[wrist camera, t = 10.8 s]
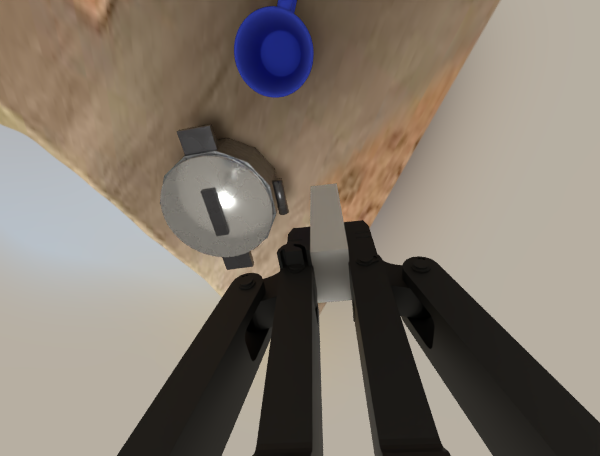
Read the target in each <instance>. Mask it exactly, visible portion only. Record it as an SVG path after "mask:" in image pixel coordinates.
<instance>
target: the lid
mask: <svg viewBox="0 0 600 456" xmlns="http://www.w3.org/2000/svg"><path fill="white" fill-rule="evenodd" d="M160 200H161V208H162V212H163V215H164V218H165V220H166V222H167V224H168V226H169V227H170V229H171V230H172V231H173V233H174V234H175V235H176V236H177V237H178V238H179V239H180V240H181V241H183V242H184V243H185V244H186V245H188V246H190V247H191V248H193V249H195V250H197V251H199V252H201V253H204V254H207V255H211V256H217V257H233V256H239V255H242V254H245V253H247V252H249V251H251V250H253V249H254V248H256V247H257V246H258V245H259V244H260V243H261V242H262V241H263V240H264V239H265V237H266V236H267V234H268V232H269V229H270V226H271V222H272V216H273V207H272V201H271V198H270V195H269V193H268V190H267V188H266V187H265V185H264V184H263V182H262V181H261V179H260V178H259V177H258V176H257V175H256V174H255V173H254V172H253V171H252V170H251V169H249V168H248V167H246V166H245V165H243V164H242V163H240V162H238V161H236V160H233V159H231V158H228V157H224V156H219V155H200V156H196V157H192V158H190V159H187V160H185V161H183V162H182V163H180V164H179V165H178V166H176V167H175V168H174V169H173V170H172V171H171V172H170V173H169V174H168V176H167V178H166V179H165V181H164V183H163V186H162V190H161V198H160Z"/></svg>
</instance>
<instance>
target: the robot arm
mask: <svg viewBox="0 0 600 456" xmlns="http://www.w3.org/2000/svg"><path fill="white" fill-rule="evenodd" d="M277 256H278V260H279V265H280V272H279V273H277V274H275V275H273V276H271V277H268V278H265V279H262V276H260V275H259V274H256V273H247V274H243V275H241V276H239V277H237V278H236V279H235V280H234V281H233V282H232V283H231V285H230V286H229V288H228V289H227V291H226V292H225V294H224V295H223V297H222V298H221V300H220V301H219V303H218V305H217V306H216V308H215V309H214V311H213V312H212V314H211V315H210V316H209V318H208V320H207V321H206V322H205V324H204V325H203V327H202V329H201V330H200V332H199V333H198V335H197V336H196V338H195V339H194V341H193V342H192V344H191V345H190V347H189V348H188V350H187V351H186V353H185V354H184V356H183V357H182V359H181V360H180V362H179V363H178V365H177V366H176V368H175V369H174V371H173V372H172V374H171V375H170V377H169V378H168V380H167V381H166V383H165V384H164V386H163V387H162V389H161V390H160V392H159V393H158V395H157V396H156V398H155V399H154V401H153V402H152V404H151V405H150V407H149V408H148V410H147V411H146V413H145V414H144V416H143V417H142V419H141V420H140V422H139V423H138V425H137V426H136V428H135V429H134V431H133V432H132V434H131V435H130V437H129V438H128V440H127V441H126V443H125V444H124V446H123V447H122V449H121V450H120V452H119V453H118V455H117V456H222V453H223V451H224V448H225V446H226V443H227V441H228V439H229V437H230V434H231V432H232V430H233V427H234V425H235V422H236V420H237V418H238V415H239V413H240V411H241V408H242V406H243V403H244V401H245V398H246V396H247V394H248V392H249V389H250V387H251V384H252V382H253V380H254V377H255V375H256V372H257V370H258V368H259V365H260V363H261V361H262V358H263V356H264V353H265V351H266V348H267V346H268V344H269V341H270V339H271V342H270V350H269V357H268V364H267V372H266V379H265V387H264V394H263V402H262V409H261V417H260V423H259V431H258V438H257V445H256V450H255V453H254V455H252V456H323V435H322V434H323V433H322V403H321V402H322V399H321V368H320V336H319V335H320V333H319V309H318V303H321V302H333V301H346V300H352V305H353V318H354V322H355V327H356V334H357V340H358V347H359V354H360V360H361V367H362V374H363V380H364V387H365V393H366V400H367V407H368V414H369V420H370V427H371V434H372V440H373V447H374V454H375V456H450V453H449V452H448V451H447V450H446V449H445V448H444V447H443V446H442V444H441V441H440V438H439V436H438V432H437V430H436V426H435V423H434V420H433V417H432V414H431V410H430V407H429V404H428V402H427V398H426V395H425V392H424V389H423V386H422V383H421V379H420V376H419V373H418V370H417V367H416V364H415V361H414V358H413V354H412V351H411V348H410V345H409V342H408V339H407V336H406V332H405V329H404V326H403V323H402V320H401V317H402V319H403V321H404V323H405V324H406V326H407V327H408V329H409V330H410V332H411V333H412V335H413V336H414V338H415V339H416V341H417V342H418V344H419V345H420V347H421V348H422V350H423V351H424V353H425V354H426V356H427V357H428V359H429V360H430V362H431V363H432V365H433V366H434V368H435V369H436V371H437V372H438V374H439V375H440V377H441V378H442V380H443V381H444V383H445V384H446V386H447V387H448V389H449V390H450V392H451V393H452V395H453V396H454V398H455V399H456V401H457V402H458V404H459V405H460V407H461V408H462V410H463V411H464V413H465V414H466V416H467V417H468V419H469V420H470V422H471V423H472V425H473V426H474V428H475V429H476V431H477V432H478V434H479V435H480V437H481V438H482V440H483V441H484V443H485V444H486V446H487V447H488V449H489V450H490V452H491V453H492V455H493V456H600V423H599V422H598V421H597V420H596V419H595V418H594V417H593V416H592V415H591V414H590V413H589V412H588V411H587V410H586V409H585V408H584V407H583V406H582V405H581V404H580V403H579V402H578V401H577V400H576V399H575V398H574V397H573V396H572V395H571V394H570V393H569V392H568V391H567V390H566V389H565V388H564V387H563V386H562V385H561V384H560V383H559V382H558V381H557V380H556V379H555V378H554V377H553V376H552V375H551V374H549V373H548V371H547V370H545V369H544V368H543V367H542V366H541V365H540V364H539V363H538V362H537V361H536V360H535V359H534V358H533V357H532V356H531V355H530V354H529V353H528V352H527V351H526V350H525V349H524V348H523V347H522V346H521V345H520V344H519V343H518V342H517V341H516V340H515V339H514V338H513V337H512V336H511V335H510V334H509V333H508V332H507V331H506V330H505V329H504V328H503V327H502V326H501V325H500V324H499V323H498V322H496V320H495V319H493V317H491V315H489V314H488V313H487V312H486V311H485V310H484V309H483V308H482V307H481V306H480V305H479V304H478V303H477V302H476V301H475V300H474V299H473V298H472V297H471V296H470V295H469V294H468V293H467V292H466V291H465V290H464V289H463V288H462V287H461V286H460V285H459V284H458V283H457V282H456V281H455V280H454V279H453V278H452V277H451V276H450V275H449V274H448V273H447V272H446V271H445V270H444V269H443V268H442V267H441V266H440V265H439V264H438V263H436V262H435V261H433V260H432V259H429V258H426V257H411V258H409V259H407V260H406V261H405V262H404V263H403V265H395V264H390V263H387V262H385V261H383V260H382V258H381V257H380V256H379V255H378V254H377V252H376V248H375V245H374V242H373V239H372V236H371V232H370V229H369V226H368V225H367V224H366V223H365V222H364V221H363V220H362V221H352V222H343V216H342V211H341V205H340V199H339V194H338V188H337V183H336V184H328V185H319V186H311V215H310V227H303V228H293V229H292V230H291V232H290V233H289V234H288V242H287V244H286V245H283V246H282V247H281V248H279V249H278V251H277ZM317 300H318V301H317ZM400 316H401V317H400Z"/></svg>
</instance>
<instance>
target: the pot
mask: <svg viewBox="0 0 600 456" xmlns="http://www.w3.org/2000/svg"><path fill="white" fill-rule="evenodd" d="M177 134H178V137H179V139H180V142H181V145H182V148H183V150H184V153H185V156H184V157H183V158H182V159H181V160H180V161H179V162H178V163H177V164H176V165H175V166H174V167H173V168H172V169H171V170H170V171H169V172H168V173H167V174H166V175H165V176H164V180H163V183H164V181H165V179H166V178H167V176H168V174H169V173H170V172H171V171H172V170H173V169H174V168H175V167H176V166H178V165H179V164H180V163H182V162H183V161H185V160H187V159H190V158H192V157H196V156H200V155H219V156H224V157H228V158H231V159H233V160H236V161H238V162H240V163H242V164H243V165H245V166H246V167H248V168H249V169H251V170H252V171H253V172H254V173H255V174H256V175H257V176H258V177H259V178H260V179H261V181H262V182H263V184H264V185H265V187H266V188H267V190H268V193H269V195H270V198H271V201H272V207H273V216H272V222H271V226H270V229H269V232H270V230H271V227H272V224H273V221H274V219H275V216H276V213H277V208H278V210H279V214H280V215H285V214H287V213H288V212H289V210H288V206H287V201H286V196H285V192H284V187H283V183H282V179H280V178H278V179H277V177H276V172H275V169H274V168H273V166H272V165H271V164H270V163H269V162H268V161H267V160H266V159H265V158H264V156H263V155H262V154H261V153H260V152H259V151H258V150H257V149H256V148H255V147H252V146H249V145H246V144H244V143H241V142H238V141H235V140H233V139H230V138H224V139H219V140H216V136H215V133H214V130H213V126H212V124H209V125H204V126H198V127H193V128H187V129H182V130H179V131H177ZM160 204H161V200H160ZM269 232H268V234H267V236H266V237H265V239H266V238H268V235H269ZM265 239H264V240H265ZM222 258H223V261H224V263H225V266H226V269H227V270H229V269H237V268H245V267H253V265H254V261H253V257H252V254H251V251H249V252H247V253H245V254H242V255H239V256H233V257H222Z"/></svg>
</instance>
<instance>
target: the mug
mask: <svg viewBox="0 0 600 456" xmlns="http://www.w3.org/2000/svg"><path fill="white" fill-rule="evenodd" d="M296 2H297V0H278V4H277V7H276V6H269V7H263V8H260V9H258V10H256V11H254V12H253V13H251V14H250V15H249V16H248V17H247V18H246V19H245V20H244V21H243V23H242V24H241V26H240V27H239V30H238V32H237V35H236V38H235V45H234V56H235V62H236V66H237V68H238V71H239V73H240V75H241V77H242V78H243V80H244V81H245V82H246V84H247V85H248V86H249V87H250V88H252V89H253V90H254V91H256V92H257V93H259V94H261V95H264V96H267V97H284V96H287V95H289V94H292V93H293V92H295V91H296V90H298V89H299V88H300V87H301V86H302V85H303V84H304V82H305V81H306V79H307V78H308V76H309V73H310V71H311V68H312V64H313V44H312V40H311V36H310V34H309V32H308V30H307V28H306V26H305V25H304V23H303V22H302V21H301V20H300V18H299V17H297V16H296V15H295V14H294V12H295V7H296Z"/></svg>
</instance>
